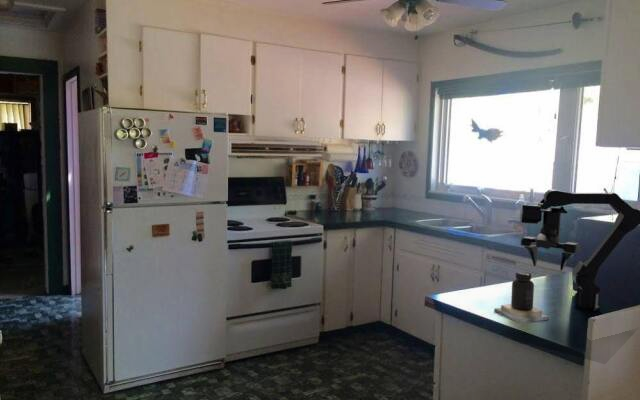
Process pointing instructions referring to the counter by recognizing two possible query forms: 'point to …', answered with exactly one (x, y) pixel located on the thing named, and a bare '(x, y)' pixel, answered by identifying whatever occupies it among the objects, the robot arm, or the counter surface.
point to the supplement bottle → (522, 291)
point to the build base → (520, 320)
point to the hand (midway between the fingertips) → (547, 268)
